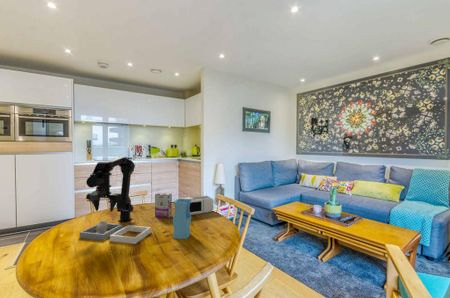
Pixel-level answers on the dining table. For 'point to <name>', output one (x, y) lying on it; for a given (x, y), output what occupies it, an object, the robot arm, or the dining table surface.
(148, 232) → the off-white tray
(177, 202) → the vase
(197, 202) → the alarm clock
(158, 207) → the candy bar box
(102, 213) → the dining table surface
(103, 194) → the robot arm
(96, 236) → the grey square frame
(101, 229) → the grey rounded lumpy piece
